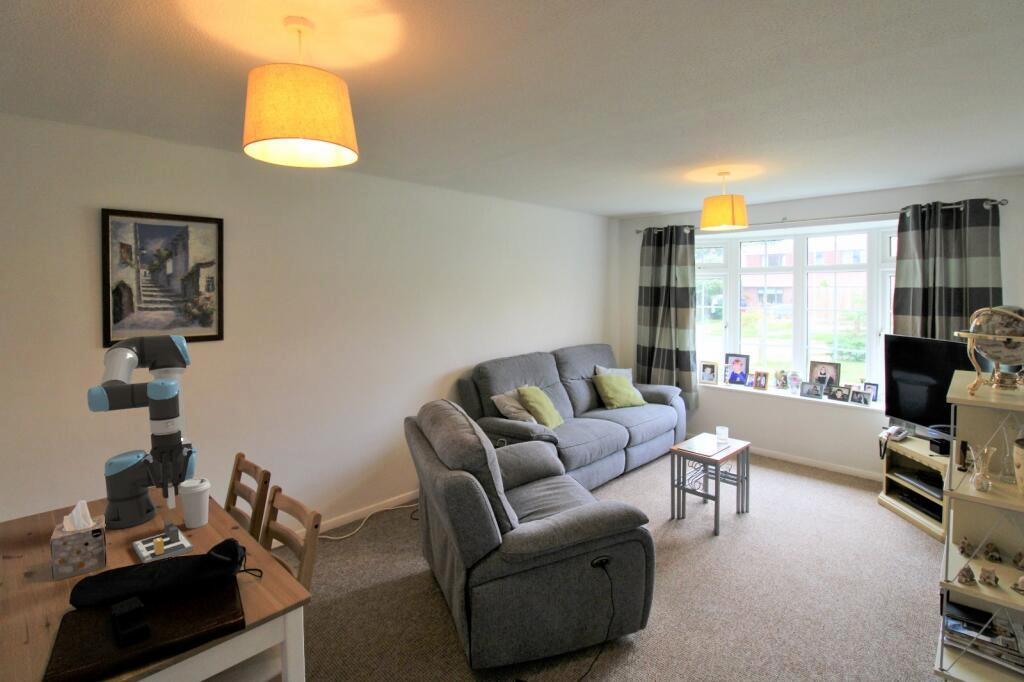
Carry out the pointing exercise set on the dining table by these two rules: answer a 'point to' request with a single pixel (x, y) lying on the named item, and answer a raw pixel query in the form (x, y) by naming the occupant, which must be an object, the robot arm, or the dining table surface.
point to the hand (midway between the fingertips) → (171, 506)
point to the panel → (172, 544)
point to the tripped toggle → (158, 546)
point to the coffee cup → (195, 501)
